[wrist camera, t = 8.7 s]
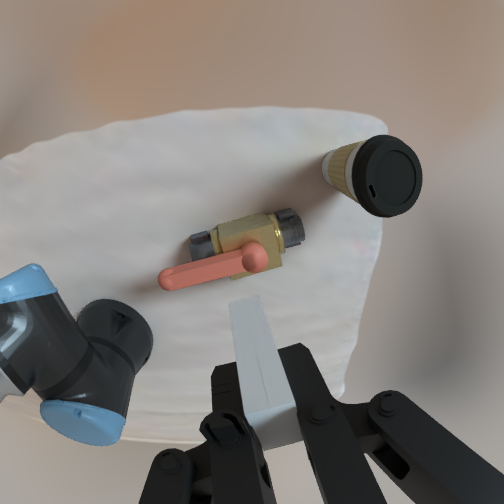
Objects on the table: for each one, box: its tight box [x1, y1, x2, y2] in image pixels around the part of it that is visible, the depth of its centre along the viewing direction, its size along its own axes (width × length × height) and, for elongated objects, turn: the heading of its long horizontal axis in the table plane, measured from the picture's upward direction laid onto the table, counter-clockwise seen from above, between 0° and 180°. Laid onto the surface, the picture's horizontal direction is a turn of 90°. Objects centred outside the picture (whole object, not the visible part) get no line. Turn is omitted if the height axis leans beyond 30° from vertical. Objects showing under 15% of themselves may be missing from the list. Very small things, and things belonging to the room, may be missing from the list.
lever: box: [158, 242, 268, 291], centre depth 33 cm, size 14×3×3 cm, turn 104°
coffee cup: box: [322, 135, 422, 218], centre depth 33 cm, size 10×10×15 cm
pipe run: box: [190, 208, 305, 280], centre depth 39 cm, size 16×6×8 cm, turn 104°
